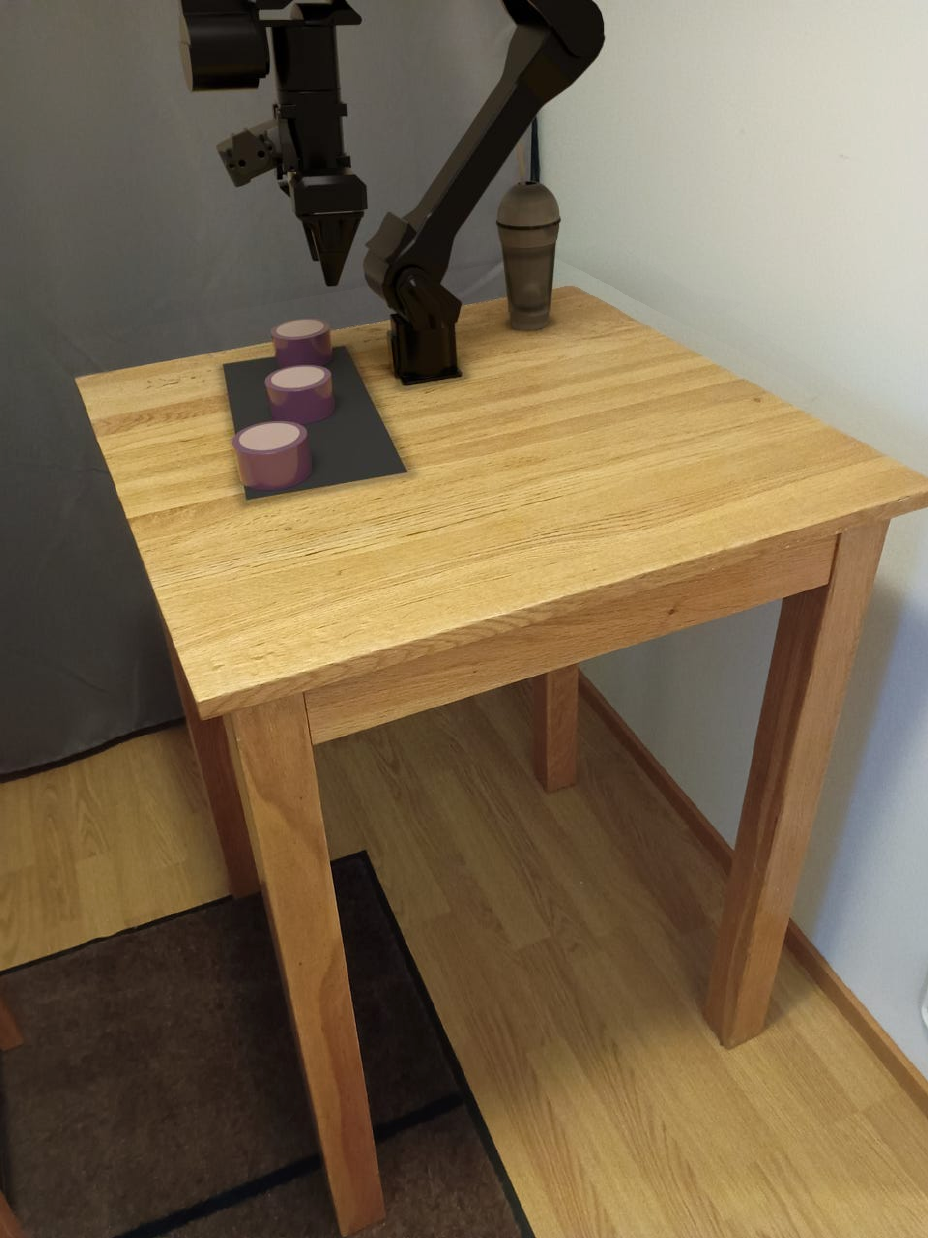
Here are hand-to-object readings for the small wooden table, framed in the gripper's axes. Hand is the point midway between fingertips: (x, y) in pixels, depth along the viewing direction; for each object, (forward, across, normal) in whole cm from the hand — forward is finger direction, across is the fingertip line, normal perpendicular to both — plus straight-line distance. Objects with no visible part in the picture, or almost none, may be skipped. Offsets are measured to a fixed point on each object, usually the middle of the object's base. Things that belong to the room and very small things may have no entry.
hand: (324, 272), depth 90 cm
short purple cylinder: (+12, -10, -2) cm, 15 cm away
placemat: (+12, +4, -4) cm, 14 cm away
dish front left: (+12, +4, -4) cm, 13 cm away
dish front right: (+12, +17, -8) cm, 22 cm away
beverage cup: (+11, -11, +25) cm, 30 cm away
